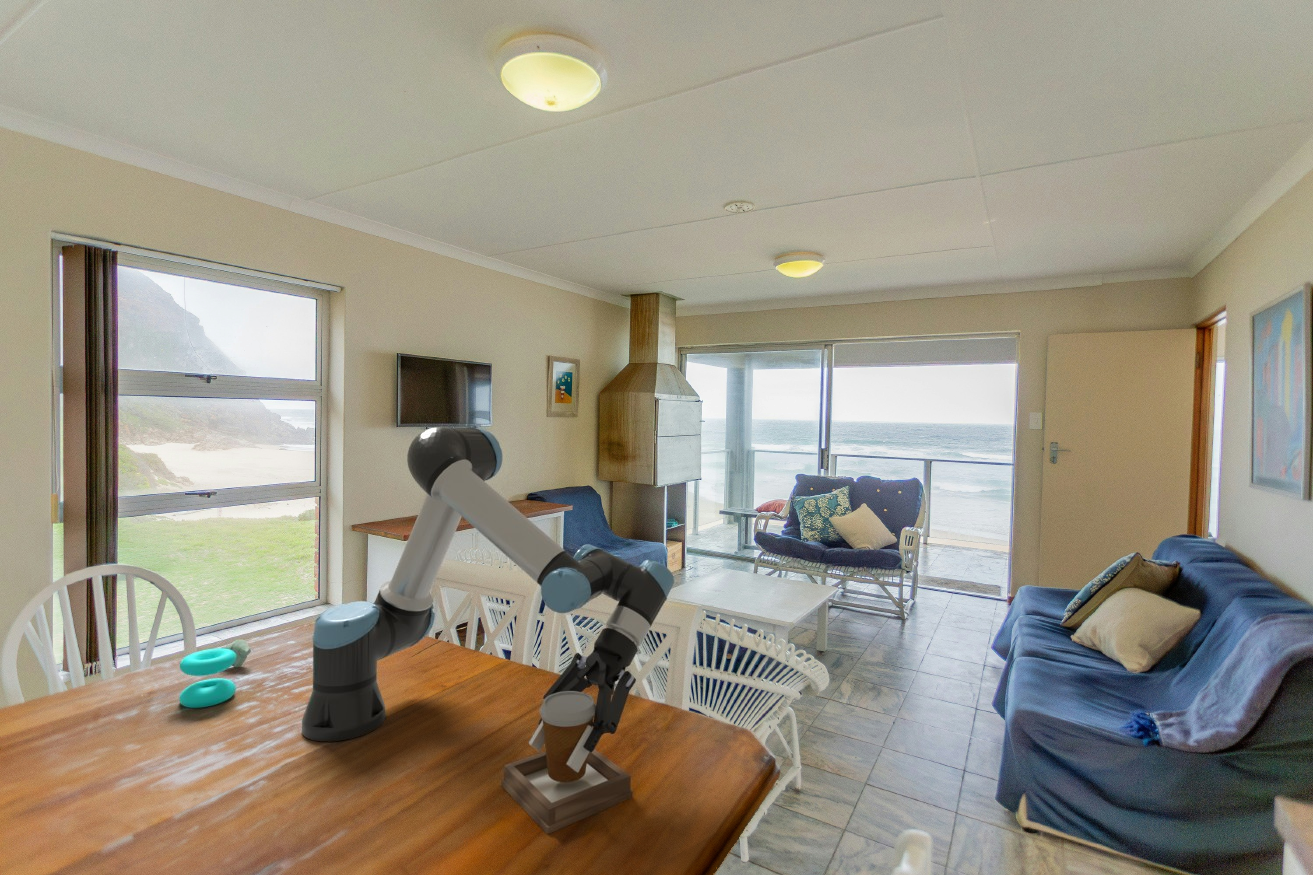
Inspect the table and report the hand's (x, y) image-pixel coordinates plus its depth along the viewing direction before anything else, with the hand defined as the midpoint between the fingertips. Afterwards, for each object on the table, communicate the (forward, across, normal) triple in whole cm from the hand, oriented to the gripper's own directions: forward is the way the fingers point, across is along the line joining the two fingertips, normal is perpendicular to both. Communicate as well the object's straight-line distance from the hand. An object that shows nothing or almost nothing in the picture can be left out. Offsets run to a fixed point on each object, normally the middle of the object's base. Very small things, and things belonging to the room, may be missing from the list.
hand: (552, 757), depth 102 cm
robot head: (+16, +100, +7) cm, 101 cm away
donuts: (+24, +83, +14) cm, 88 cm away
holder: (+3, 0, -7) cm, 8 cm away
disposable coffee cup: (+1, 0, -5) cm, 5 cm away
